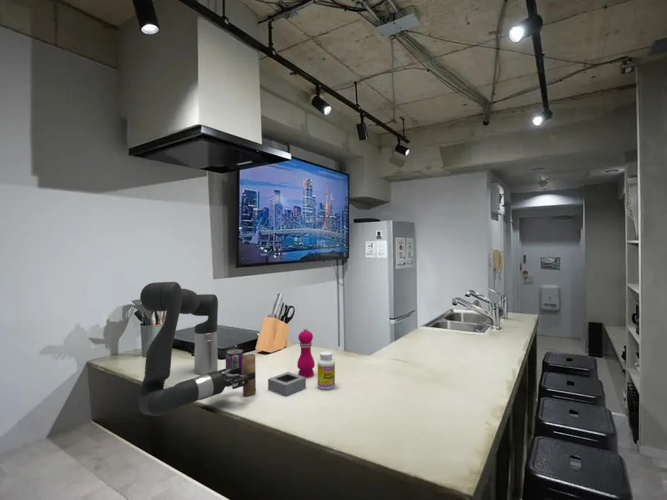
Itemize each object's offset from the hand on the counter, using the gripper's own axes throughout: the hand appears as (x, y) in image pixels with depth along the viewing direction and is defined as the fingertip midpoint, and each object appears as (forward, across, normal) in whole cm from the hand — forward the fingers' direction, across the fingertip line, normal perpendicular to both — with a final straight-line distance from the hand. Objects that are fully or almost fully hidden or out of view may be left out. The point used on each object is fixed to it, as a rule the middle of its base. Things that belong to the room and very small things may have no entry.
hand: (247, 372), depth 132 cm
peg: (+1, 0, +8) cm, 8 cm away
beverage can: (+5, +15, +8) cm, 18 cm away
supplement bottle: (+24, -17, +8) cm, 30 cm away
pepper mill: (+28, -2, +8) cm, 29 cm away
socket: (+13, -7, +8) cm, 17 cm away
